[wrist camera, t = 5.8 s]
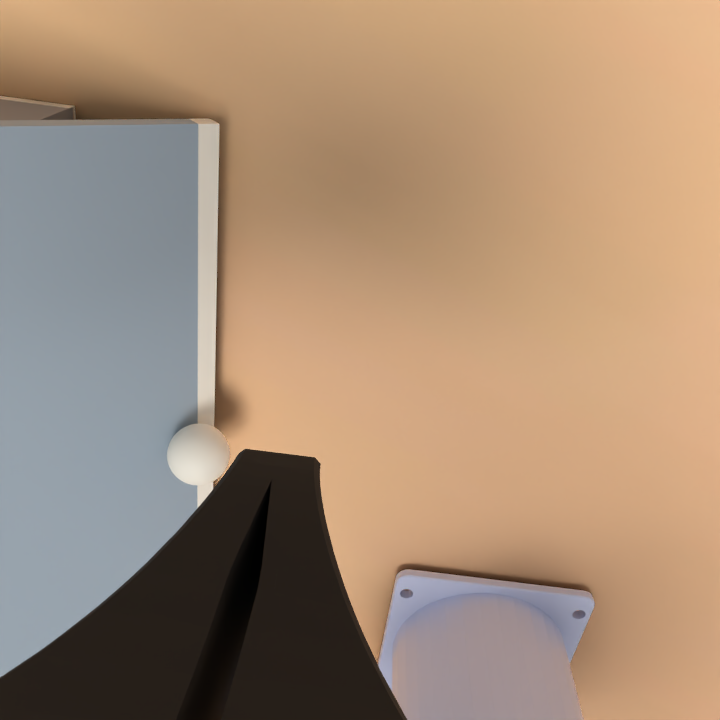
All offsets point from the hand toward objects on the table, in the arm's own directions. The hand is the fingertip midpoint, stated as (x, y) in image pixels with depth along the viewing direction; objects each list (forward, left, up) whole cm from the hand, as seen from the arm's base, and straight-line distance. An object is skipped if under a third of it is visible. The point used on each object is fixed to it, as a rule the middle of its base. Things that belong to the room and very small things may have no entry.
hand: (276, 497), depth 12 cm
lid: (-6, +9, -6) cm, 12 cm away
